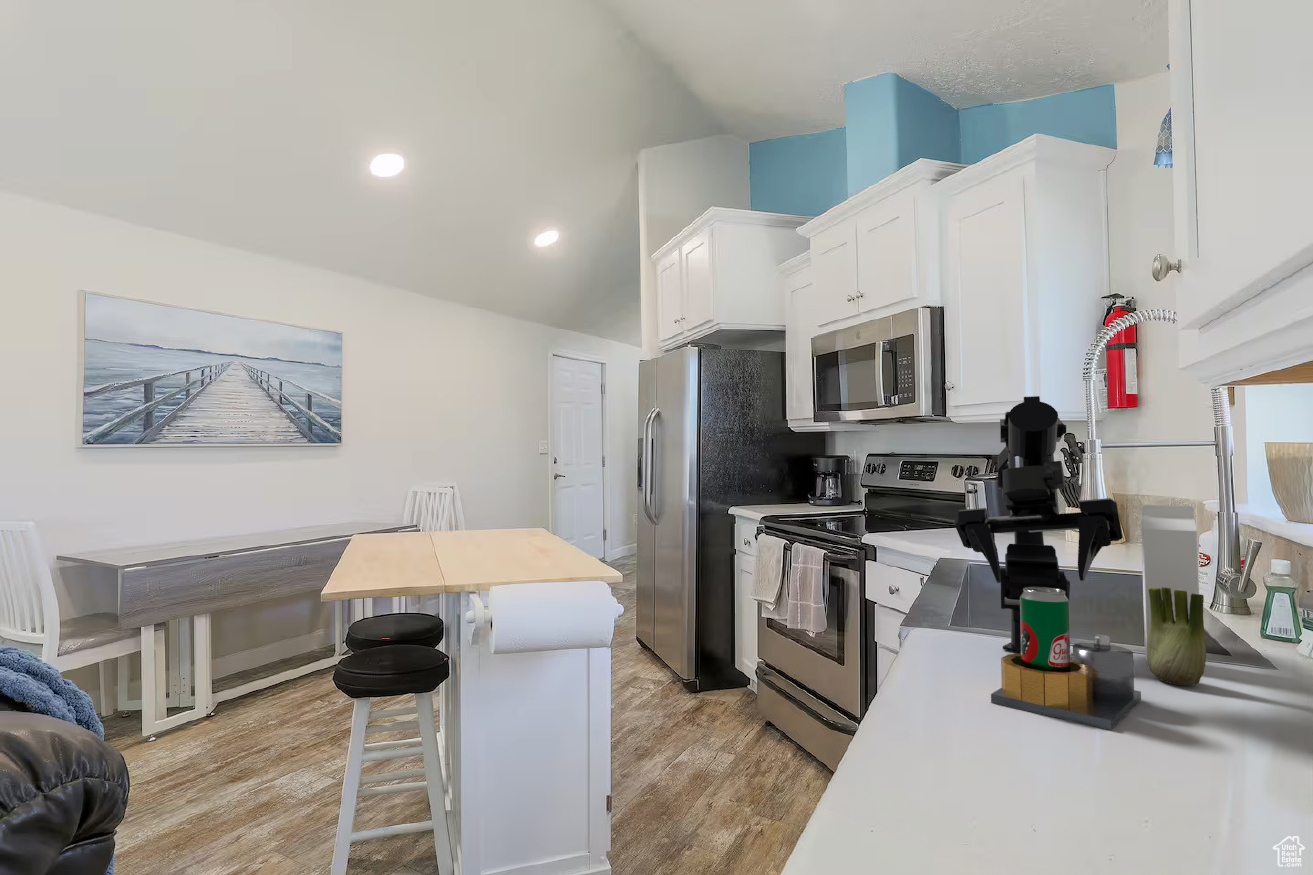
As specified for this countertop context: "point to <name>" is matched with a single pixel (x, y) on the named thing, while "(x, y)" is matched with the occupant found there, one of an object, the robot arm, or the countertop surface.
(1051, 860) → the countertop surface
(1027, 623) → the soda can
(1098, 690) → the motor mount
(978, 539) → the robot arm
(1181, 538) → the milk
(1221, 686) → the countertop surface
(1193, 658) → the fennel bulb
